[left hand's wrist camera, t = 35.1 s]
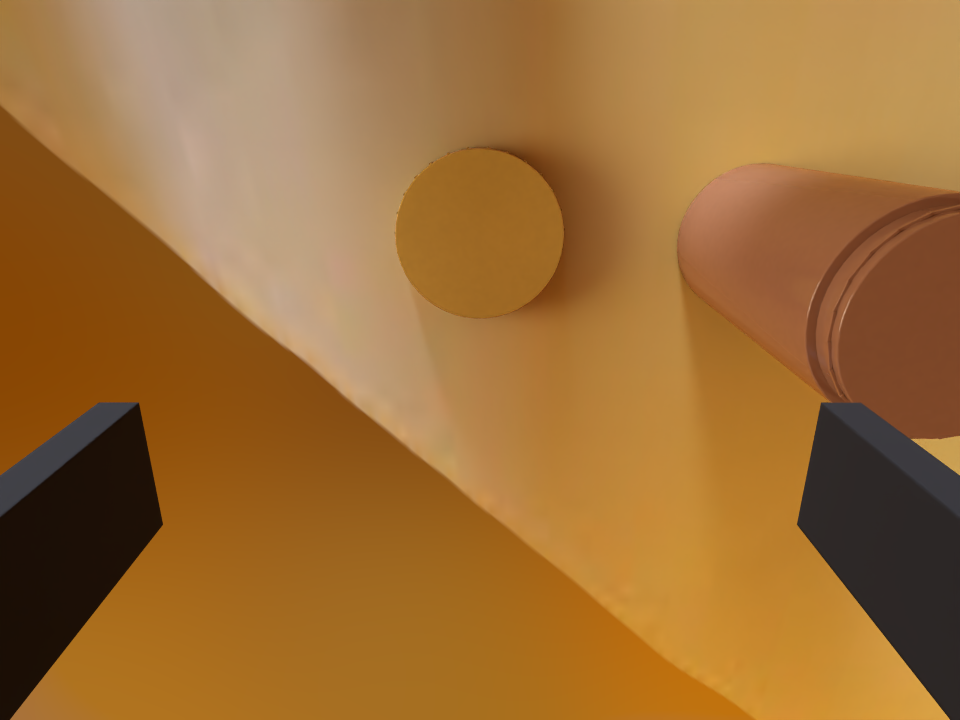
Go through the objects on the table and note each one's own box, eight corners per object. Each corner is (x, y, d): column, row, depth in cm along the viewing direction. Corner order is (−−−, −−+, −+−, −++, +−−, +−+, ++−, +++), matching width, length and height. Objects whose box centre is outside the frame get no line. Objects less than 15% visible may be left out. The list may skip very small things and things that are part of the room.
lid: (516, 336, 43) (517, 345, 41) (372, 270, 42) (367, 277, 40) (591, 193, 40) (596, 196, 38) (438, 116, 38) (436, 115, 37)
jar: (669, 311, 43) (805, 447, 25) (685, 162, 39) (855, 197, 22) (811, 311, 43) (1049, 448, 25) (839, 163, 39) (1135, 198, 22)
